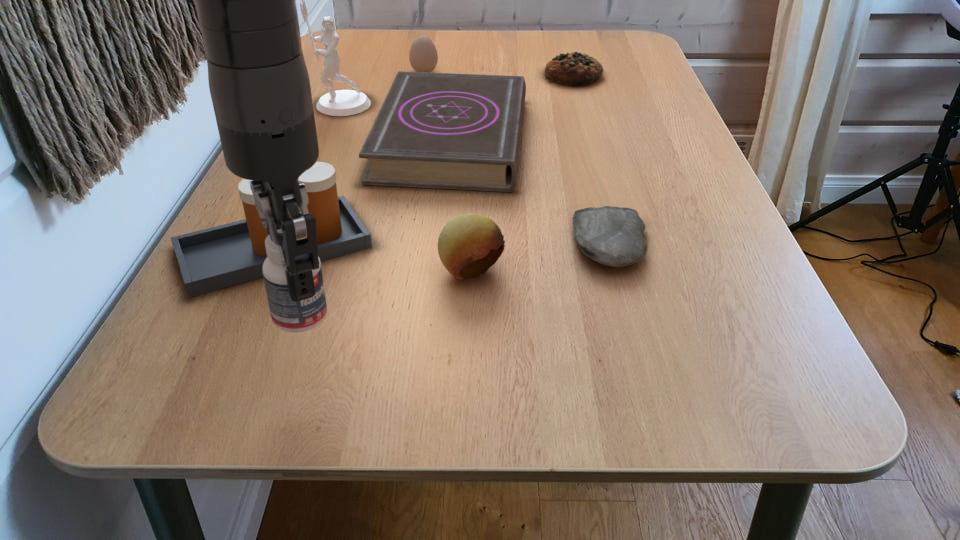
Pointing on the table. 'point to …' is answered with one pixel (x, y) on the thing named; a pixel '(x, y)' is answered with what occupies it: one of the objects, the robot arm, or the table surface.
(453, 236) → the fruit
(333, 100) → the figurine
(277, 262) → the pill bottle
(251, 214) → the amber bottle middle
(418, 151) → the book
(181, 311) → the table surface
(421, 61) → the egg
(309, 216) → the robot arm
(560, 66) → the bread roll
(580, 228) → the stone
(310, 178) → the amber bottle far
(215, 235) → the tray
